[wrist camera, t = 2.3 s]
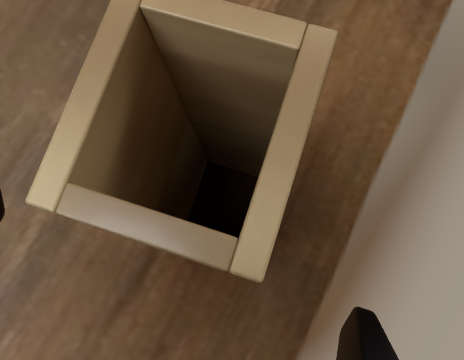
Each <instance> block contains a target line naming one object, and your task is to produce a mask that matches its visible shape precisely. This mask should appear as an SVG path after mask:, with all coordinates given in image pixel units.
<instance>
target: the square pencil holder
mask: <svg viewBox="0 0 464 360" xmlns="http://www.w3.org/2000/svg"><path fill="white" fill-rule="evenodd" d="M337 37H338V33H337V31H336V30H332V29H328V28H325V27H321V26H317V25H313V24H309V25H308V26H307V23H306V22H304V21H300V20H296V19H292V18H288V17H285V16H281V15H277V14H273V13H269V12H266V11H262V10H258V9H254V8H250V7H247V6H243V5H239V4H235V3H232V2H228V1H224V0H111V1H110V3H109V5H108V8H107V10H106V12H105V15H104V17H103V19H102V22H101V24H100V26H99V29H98V31H97V33H96V36H95V38H94V41H93V43H92V45H91V48H90V50H89V52H88V55H87V57H86V59H85V62H84V64H83V66H82V69H81V71H80V73H79V76H78V78H77V80H76V83H75V85H74V88H73V90H72V92H71V95H70V97H69V99H68V102H67V104H66V106H65V109H64V111H63V113H62V116H61V118H60V120H59V123H58V125H57V128H56V130H55V132H54V135H53V137H52V139H51V142H50V144H49V146H48V149H47V151H46V153H45V156H44V158H43V160H42V163H41V165H40V168H39V170H38V172H37V175H36V177H35V179H34V182H33V184H32V186H31V189H30V191H29V193H28V196H27V198H26V203H27V204H28V205H30V206H33V207H36V208H39V209H42V210H45V211H48V212H51V213H55V214H57V215H60V216H63V217H66V218H68V219H71V220H74V221H77V222H80V223H83V224H86V225H89V226H92V227H95V228H98V229H101V230H104V231H107V232H110V233H113V234H116V235H119V236H121V237H124V238H127V239H130V240H133V241H136V242H139V243H142V244H145V245H148V246H151V247H154V248H157V249H160V250H163V251H166V252H169V253H171V254H174V255H177V256H180V257H183V258H186V259H189V260H192V261H195V262H198V263H201V264H204V265H207V266H210V267H213V268H216V269H219V270H222V271H224V272H226V271H230V273H232V274H234V275H236V276H239V277H242V278H245V279H248V280H251V281H254V282H257V283H261V282H262V281H263V280H264V277H265V273H266V270H267V267H268V264H269V260H270V257H271V254H272V250H273V247H274V244H275V241H276V237H277V234H278V231H279V227H280V224H281V221H282V218H283V214H284V211H285V208H286V204H287V201H288V198H289V194H290V191H291V188H292V185H293V181H294V178H295V175H296V171H297V168H298V165H299V162H300V158H301V155H302V152H303V148H304V145H305V142H306V139H307V135H308V132H309V129H310V125H311V122H312V119H313V116H314V112H315V109H316V106H317V102H318V99H319V96H320V93H321V89H322V86H323V83H324V79H325V76H326V73H327V69H328V66H329V63H330V60H331V56H332V53H333V50H334V46H335V43H336V40H337ZM208 161H209V162H212V163H215V164H218V165H221V166H225V167H228V168H231V169H234V170H238V171H241V172H244V173H247V174H251V175H254V176H257V177H258V180H257V183H256V187H255V190H254V193H253V196H252V199H251V202H250V205H249V208H248V211H247V215H246V218H245V221H244V224H243V227H242V230H241V233H240V236H239V239H238V238H236V237H234V236H231V235H228V234H225V233H222V232H219V231H216V230H213V229H210V228H207V227H204V226H201V225H198V224H195V223H192V222H189V221H187V220H188V217H189V214H190V211H191V208H192V205H193V202H194V200H195V197H196V194H197V191H198V188H199V185H200V182H201V179H202V176H203V174H204V171H205V168H206V165H207V162H208Z"/></svg>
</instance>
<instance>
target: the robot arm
mask: <svg viewBox="0 0 464 360" xmlns="http://www.w3.org/2000/svg"><path fill="white" fill-rule="evenodd" d="M4 213H5V208H4V203H3V198H2V193H1V189H0V221H1V220H2V218H3V216H4ZM336 360H399V359H398V357H397V355H396V353H395V351H394V349H393V348H392V346H391V344H390V342H389V340H388V338H387V336H386V334H385V332H384V330H383V328H382V326H381V324H380V322H379V320H378V318H377V317H376V315H375V314H374V313H373V312H372V311H370V310H367V309H363V308H361V307H355V308H354V309H353V310H352V312H351V313H350V315H349V317H348V318H347V320H346V322H345V323H344V325H343V327H342V329H341V332H340V337H339V345H338V351H337V358H336Z"/></svg>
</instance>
